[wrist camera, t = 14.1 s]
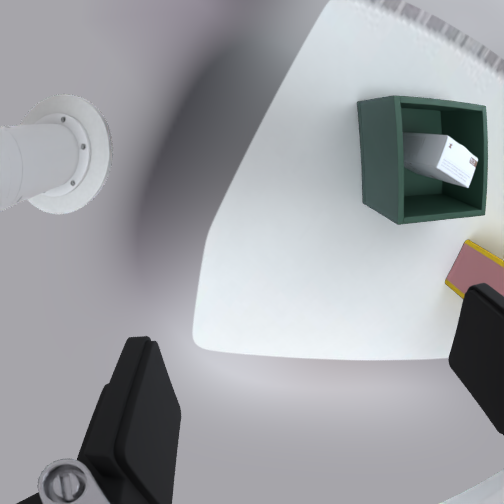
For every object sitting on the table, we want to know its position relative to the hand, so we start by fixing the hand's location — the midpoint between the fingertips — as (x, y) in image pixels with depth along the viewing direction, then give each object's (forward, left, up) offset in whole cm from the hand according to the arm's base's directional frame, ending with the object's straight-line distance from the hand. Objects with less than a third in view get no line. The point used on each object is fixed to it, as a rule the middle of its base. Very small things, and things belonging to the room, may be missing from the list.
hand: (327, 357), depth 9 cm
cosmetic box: (+23, +2, -36) cm, 42 cm away
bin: (+23, +2, -36) cm, 43 cm away
